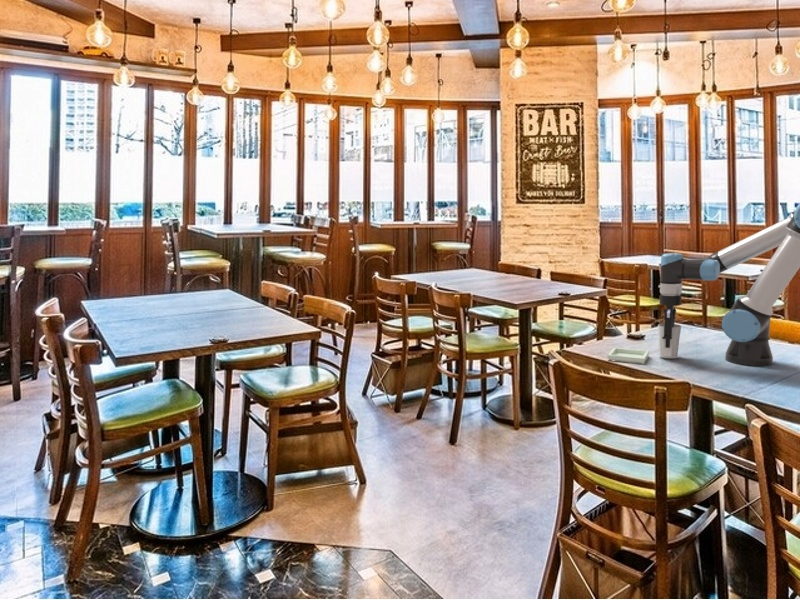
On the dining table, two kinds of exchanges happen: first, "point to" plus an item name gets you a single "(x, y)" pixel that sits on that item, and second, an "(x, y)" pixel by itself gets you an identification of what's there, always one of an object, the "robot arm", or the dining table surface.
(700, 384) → the dining table surface
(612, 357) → the tray
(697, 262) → the robot arm
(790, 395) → the dining table surface
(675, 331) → the cup
